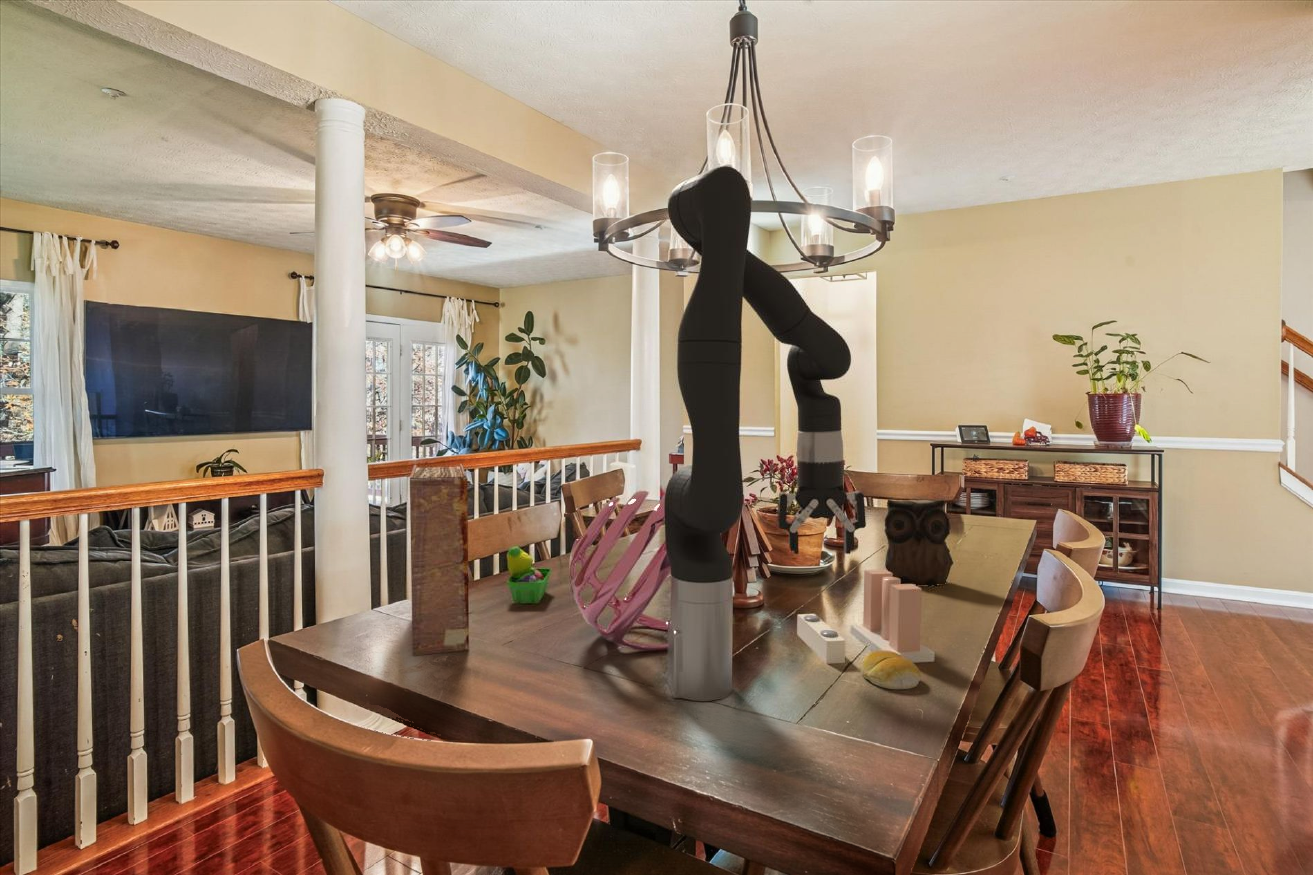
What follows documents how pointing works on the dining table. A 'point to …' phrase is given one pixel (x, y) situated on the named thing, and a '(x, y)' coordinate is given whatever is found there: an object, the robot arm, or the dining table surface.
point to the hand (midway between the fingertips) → (821, 553)
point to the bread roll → (890, 670)
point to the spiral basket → (621, 572)
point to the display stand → (892, 617)
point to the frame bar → (821, 638)
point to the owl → (918, 541)
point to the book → (439, 559)
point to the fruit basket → (525, 577)
